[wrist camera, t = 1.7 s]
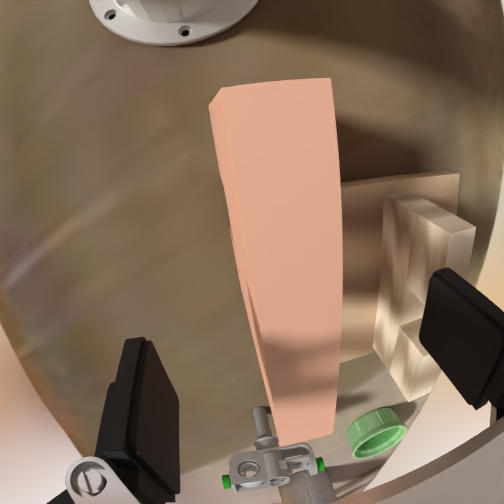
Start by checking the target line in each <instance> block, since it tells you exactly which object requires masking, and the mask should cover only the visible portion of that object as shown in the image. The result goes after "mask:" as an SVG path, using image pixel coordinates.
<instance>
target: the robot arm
mask: <svg viewBox="0 0 504 504" xmlns="http://www.w3.org/2000/svg"><path fill="white" fill-rule="evenodd" d="M89 1H90V5H91V7H92V9H93V11H94V13H95V15H96V17H97V18H98V19H99V20H100V21H101V22H102V24H103V25H104V26H105V27H107V28H108V29H109V30H110V31H112V32H113V33H115V34H117V35H118V36H120V37H122V38H124V39H126V40H129V41H132V42H135V43H138V44H144V45H151V46H178V45H184V44H191V43H195V42H198V41H201V40H205V39H208V38H211V37H213V36H215V35H217V34H219V33H222V32H224V31H226V30H227V29H229V28H230V27H232V26H233V25H235V24H236V23H238V22H239V21H240V20H242V19H243V18H244V17H245V16H246V15H247V14H248V13H249V12H250V11H251V10H252V9H253V7H254V6H255V5H256V3H257V2H258V1H259V0H89ZM113 15H116V16H115V18H114V19H112V20H110V19H111V17H112V16H113ZM184 31H188V32H189V35H188V36H182V33H183V32H184ZM419 341H420V343H421V345H422V346H423V347H424V348H425V350H426V351H427V352H428V353H429V354H430V356H431V357H432V358H433V359H434V361H435V362H436V363H437V364H438V366H439V367H440V368H441V369H442V371H443V372H444V373H445V375H446V376H447V377H448V378H449V379H450V381H451V382H452V384H453V385H454V386H455V387H456V389H457V390H458V391H459V393H460V394H461V395H462V397H463V398H464V399H465V401H466V402H467V403H468V404H469V405H472V406H473V407H474V408H475V410H477V409H479V408H481V407H482V406H484V405H485V404H487V402H488V400H489V401H490V403H491V416H490V427H489V428H487V429H485V430H484V431H482V432H481V433H479V434H478V435H476V436H475V437H473V438H471V439H470V440H468V441H467V442H465V443H464V444H462V445H460V446H459V447H457V448H455V449H453V450H452V451H450V452H448V453H446V454H445V455H443V456H441V457H439V458H437V459H435V460H433V461H432V462H430V463H428V464H426V465H424V466H422V467H420V468H418V469H416V470H414V471H412V472H409V473H407V474H405V475H403V476H401V477H398V478H396V479H394V480H392V481H389V482H387V483H384V484H382V485H380V486H377V487H375V488H372V489H369V490H367V491H364V492H361V493H358V494H356V495H353V496H350V497H347V498H344V499H341V500H338V501H335V502H331V503H328V504H504V312H503V311H502V310H501V309H500V308H499V307H497V306H496V305H495V304H494V303H493V302H492V301H490V300H489V299H488V298H487V297H486V296H484V295H483V294H482V293H481V292H480V291H478V290H477V289H476V288H475V287H473V286H472V285H471V284H470V283H469V282H467V281H466V280H465V279H463V278H462V277H461V276H460V275H458V274H457V273H456V272H455V271H453V270H452V269H451V268H449V267H446V268H443V269H440V270H436V271H434V272H433V274H432V277H430V280H429V285H428V291H427V297H426V302H425V308H424V313H423V318H422V322H421V327H420V331H419ZM65 481H66V487H67V489H66V490H65V491H63V492H62V493H61V494H59V495H58V496H56V497H55V498H54V499H52V500H51V501H49V502H48V503H47V504H165V502H175V494H179V493H180V463H179V400H178V396H177V394H176V392H175V390H174V388H173V386H172V384H171V382H170V380H169V378H168V376H167V373H166V371H165V369H164V367H163V365H162V363H161V360H160V358H159V356H158V354H157V352H156V349H155V347H154V345H153V343H152V341H146V339H145V338H144V337H139V338H132V339H127V340H126V341H125V343H124V347H123V351H122V355H121V359H120V363H119V367H118V372H117V376H116V380H115V382H113V383H111V384H110V385H109V388H108V392H107V396H106V400H105V405H104V410H103V414H102V419H101V424H100V429H99V434H98V440H97V445H96V451H95V457H91V456H89V457H83V458H81V459H79V460H77V461H76V462H74V463H73V464H72V465H71V466H70V468H69V469H68V471H67V474H66V478H65Z"/></svg>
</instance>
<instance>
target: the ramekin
mask: <svg viewBox="0 0 504 504" xmlns="http://www.w3.org/2000/svg"><path fill="white" fill-rule="evenodd" d="M406 432H407V427H406V425H405V424H404V423H402V421H401V420H400V419H399V417H398V416H397V414H396V413H395V412H394V410H393V409H391V408H379V409H376V410H373V411H371V412H369V413H367V414H365V415H363V416H361V417H360V418H358V419H357V420H356V421H355V422H354V423H353V424H352V425H351V426H350V427H349V429H348V432H347V435H348V439H349V442H350V445H351V448H352V455H353V457H354V458H356V459H365V458H370V457H373V456H376V455H378V454H380V453H382V452H384V451H386V450H388V449H390V448H391V447H393V446H394V445H395V444H397V443H398V442H399V441H400V440H401V439H402V438H403V437H404V436H405V434H406Z"/></svg>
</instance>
